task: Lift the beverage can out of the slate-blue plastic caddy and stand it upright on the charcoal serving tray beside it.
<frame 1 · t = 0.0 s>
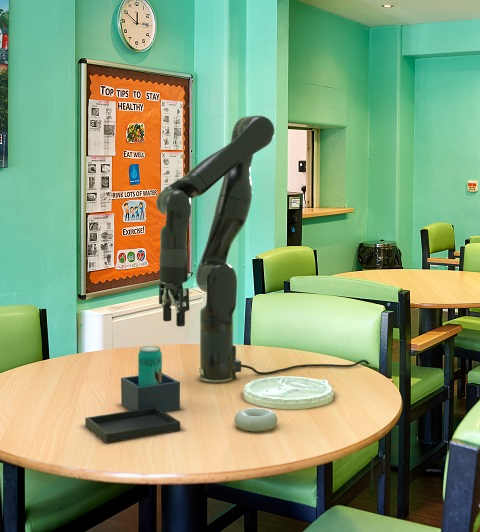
hand: (173, 323, 221), 17 cm above the table, tool pointing down, fingers open, 8 cm apart
medallion: (292, 395, 215), on the table
caddy: (150, 407, 202), on the table
donut: (255, 427, 188), on the table
beverage can: (150, 408, 202), resting in caddy
tray: (132, 428, 186), on the table
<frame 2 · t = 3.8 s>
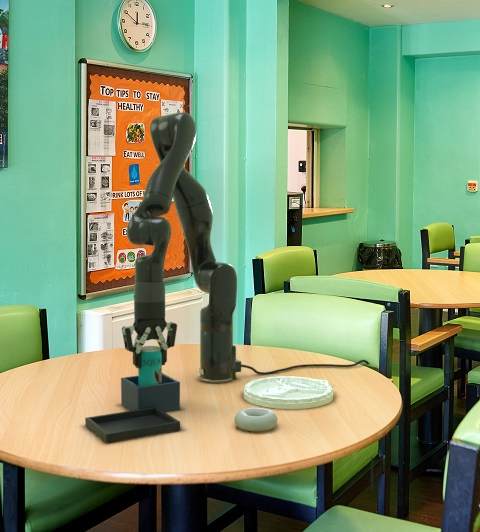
hand: (150, 365, 201), 11 cm above the table, tool pointing down, fingers closed on beverage can, 5 cm apart
beverage can: (150, 408, 202), resting in caddy, touching gripper
everything else where it was.
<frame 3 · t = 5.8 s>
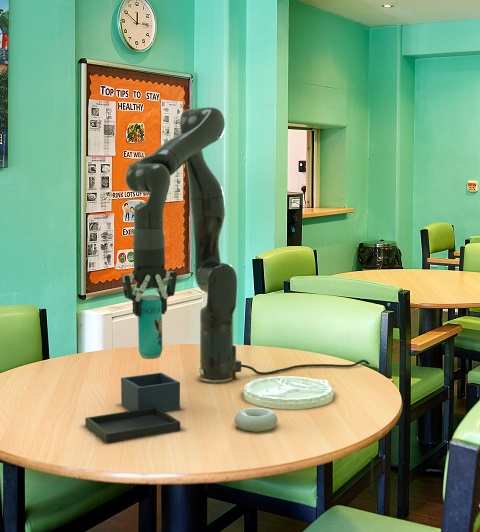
hand: (150, 314, 199), 23 cm above the table, tool pointing down, fingers closed on beverage can, 5 cm apart
beverage can: (150, 357, 201), point 13 cm above the table, touching gripper
everything else where it was.
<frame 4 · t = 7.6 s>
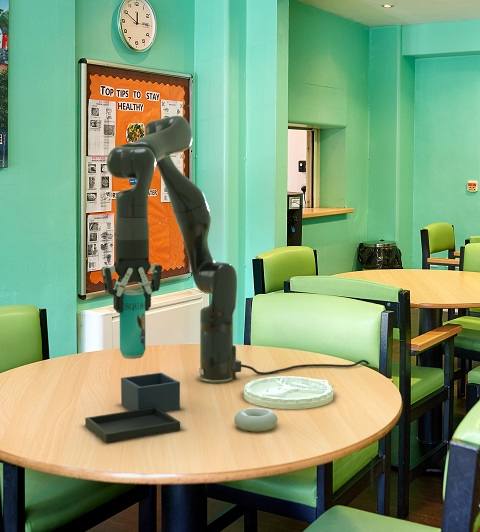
hand: (132, 311, 184), 27 cm above the table, tool pointing down, fingers closed on beverage can, 5 cm apart
beverage can: (132, 357, 186), point 16 cm above the table, touching gripper
everything else where it was.
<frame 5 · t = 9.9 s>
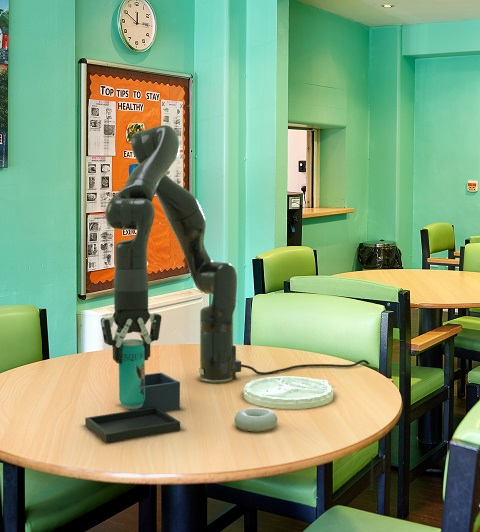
hand: (131, 360, 184), 16 cm above the table, tool pointing down, fingers closed on beverage can, 5 cm apart
beverage can: (132, 407, 186), point 5 cm above the table, touching gripper
everything else where it was.
when the fingers open (11 cm above the table, at t = 11.6 s): beverage can stays where it is, resting on tray.
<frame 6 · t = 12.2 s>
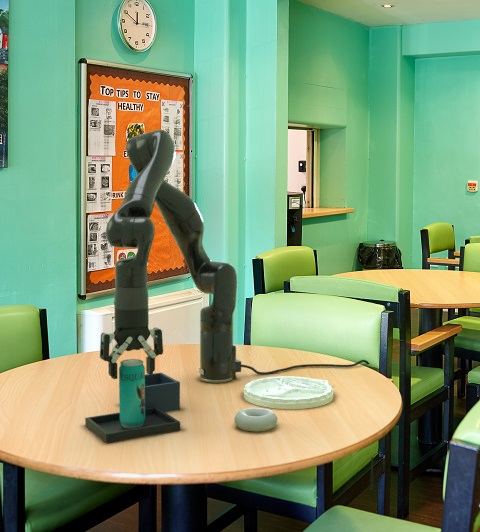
hand: (132, 376, 185), 12 cm above the table, tool pointing down, fingers open, 8 cm apart
beverage can: (132, 426, 186), resting on tray
everything else where it was.
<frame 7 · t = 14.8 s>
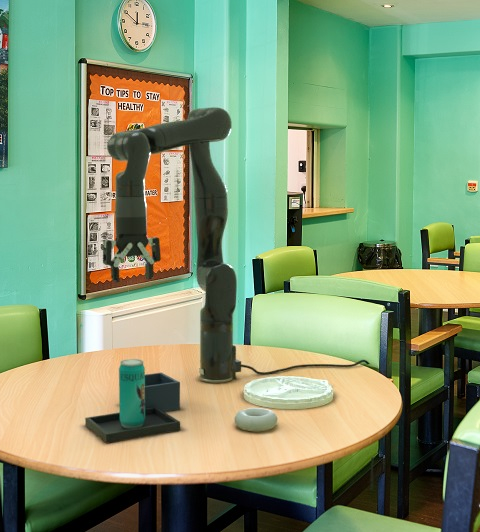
hand: (132, 280, 201), 31 cm above the table, tool pointing down, fingers open, 8 cm apart
nothing on the table moved.
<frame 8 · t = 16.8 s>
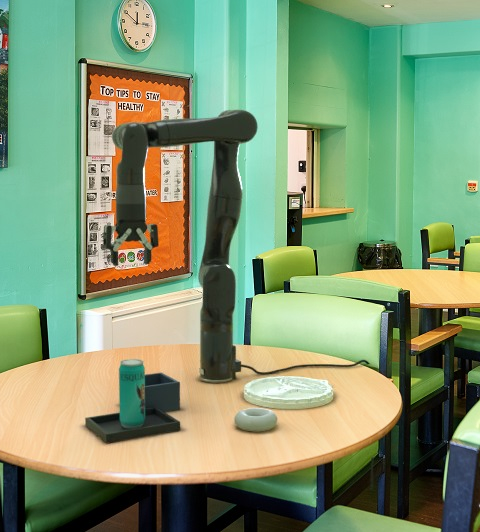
hand: (131, 264, 210), 34 cm above the table, tool pointing down, fingers open, 8 cm apart
nothing on the table moved.
at the end: beverage can inside the target area in the tray (0.1 cm from its centre), point 0.3 cm above the tray's base; beverage can tilted 0°; the gripper is holding nothing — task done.
